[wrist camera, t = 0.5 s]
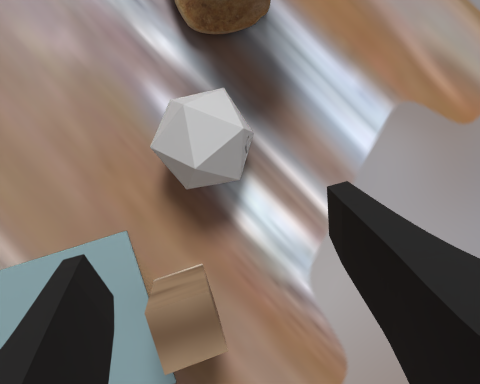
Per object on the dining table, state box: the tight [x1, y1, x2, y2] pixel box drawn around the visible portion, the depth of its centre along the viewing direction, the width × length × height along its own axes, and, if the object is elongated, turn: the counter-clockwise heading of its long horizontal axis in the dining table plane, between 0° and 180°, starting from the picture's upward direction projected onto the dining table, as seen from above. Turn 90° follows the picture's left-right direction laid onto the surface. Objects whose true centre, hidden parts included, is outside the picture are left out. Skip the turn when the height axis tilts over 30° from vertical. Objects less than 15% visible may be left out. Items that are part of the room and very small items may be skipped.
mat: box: [0, 231, 176, 384], centre depth 34 cm, size 16×16×1 cm
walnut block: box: [144, 264, 228, 375], centre depth 31 cm, size 5×5×9 cm
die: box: [150, 88, 254, 189], centre depth 32 cm, size 8×9×10 cm
